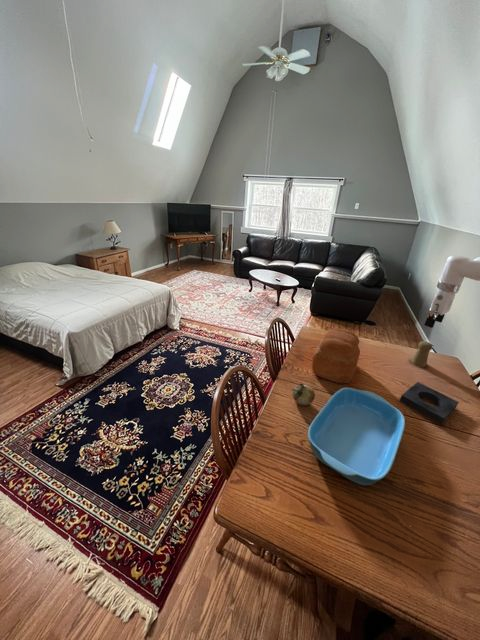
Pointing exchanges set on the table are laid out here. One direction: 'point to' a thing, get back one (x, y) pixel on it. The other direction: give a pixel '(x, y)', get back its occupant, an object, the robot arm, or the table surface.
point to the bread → (336, 356)
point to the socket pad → (433, 412)
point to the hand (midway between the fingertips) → (432, 323)
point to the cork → (422, 354)
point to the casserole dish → (357, 435)
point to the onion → (303, 394)
